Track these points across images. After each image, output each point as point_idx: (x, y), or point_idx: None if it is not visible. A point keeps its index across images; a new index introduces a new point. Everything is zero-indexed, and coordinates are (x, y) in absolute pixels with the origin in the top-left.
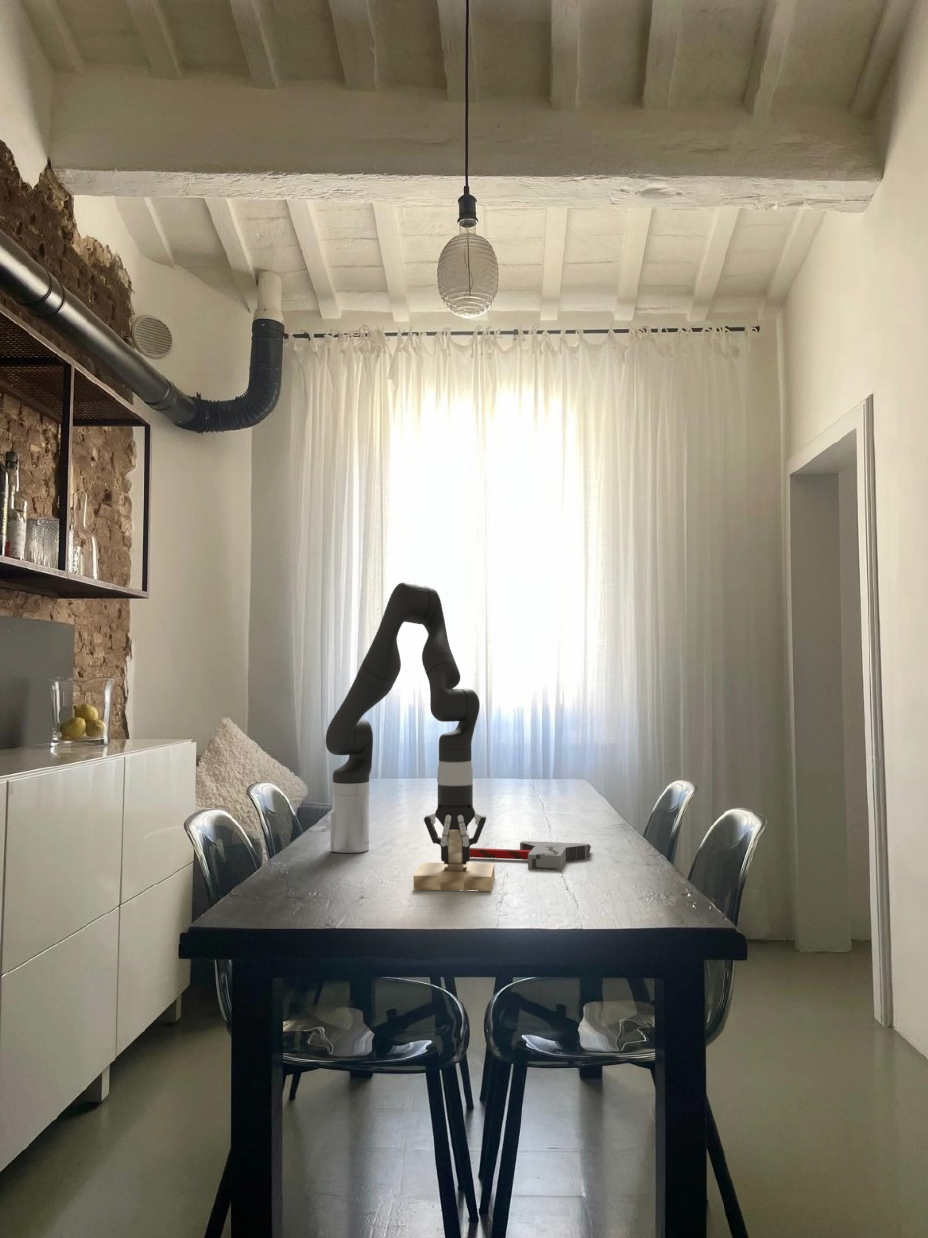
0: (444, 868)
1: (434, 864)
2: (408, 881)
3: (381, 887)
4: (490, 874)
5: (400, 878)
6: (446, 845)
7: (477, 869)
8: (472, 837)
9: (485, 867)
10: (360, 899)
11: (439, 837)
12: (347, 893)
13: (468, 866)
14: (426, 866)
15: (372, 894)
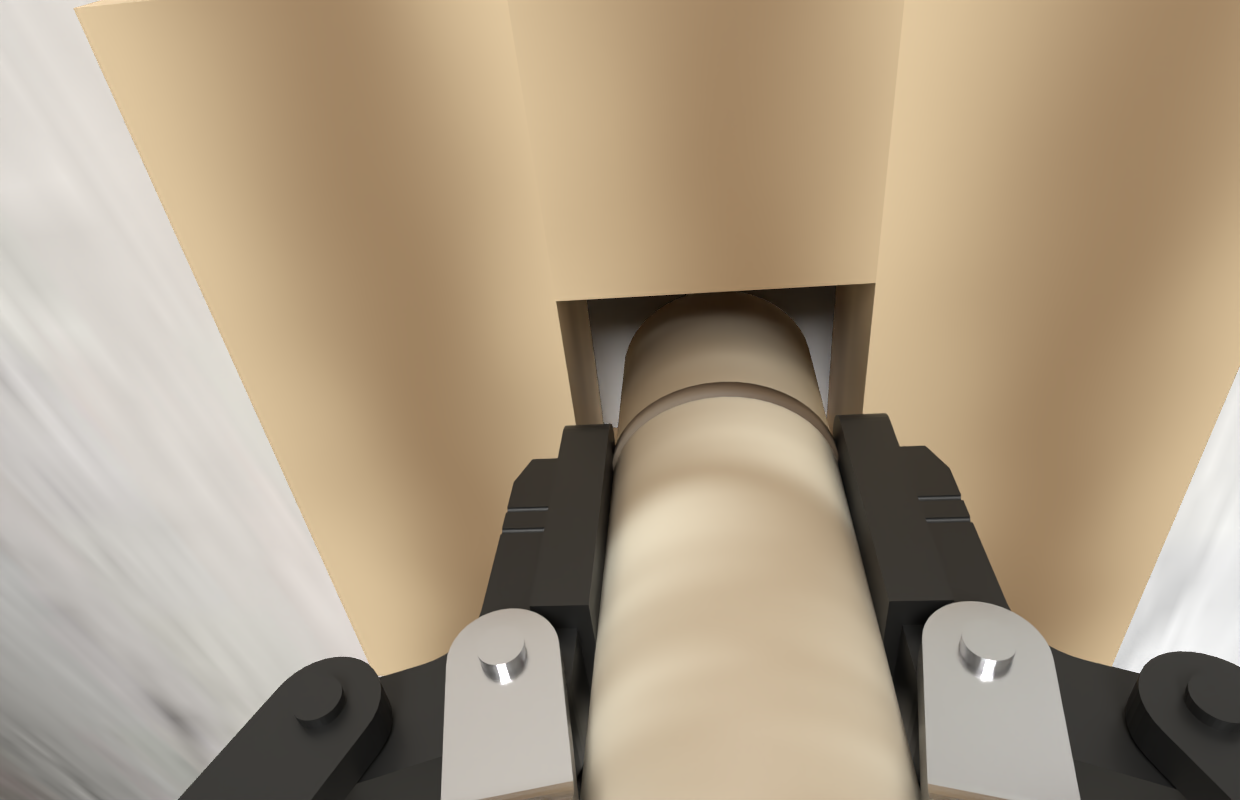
0: (569, 381)
1: (345, 153)
2: (191, 276)
3: (112, 510)
4: (1128, 598)
5: (14, 139)
6: (586, 719)
7: (1012, 399)
8: (1148, 793)
9: (1158, 267)
10: (200, 751)
11: (401, 783)
12: (22, 659)
13: (894, 232)
14: (299, 307)
15: (190, 669)
